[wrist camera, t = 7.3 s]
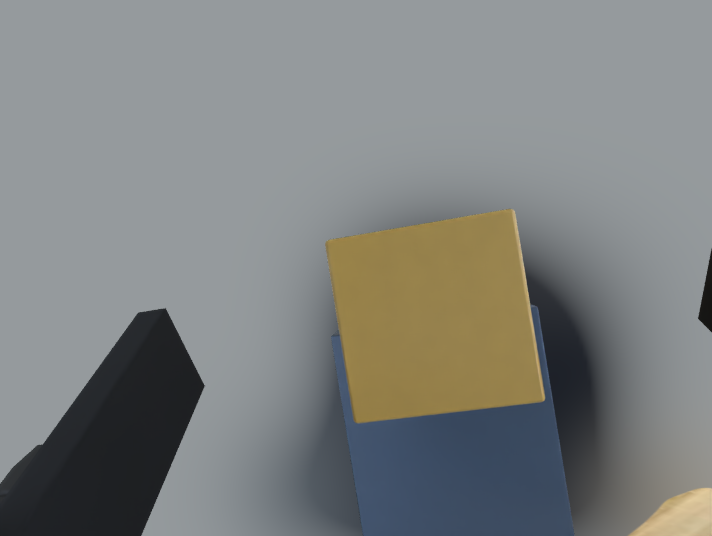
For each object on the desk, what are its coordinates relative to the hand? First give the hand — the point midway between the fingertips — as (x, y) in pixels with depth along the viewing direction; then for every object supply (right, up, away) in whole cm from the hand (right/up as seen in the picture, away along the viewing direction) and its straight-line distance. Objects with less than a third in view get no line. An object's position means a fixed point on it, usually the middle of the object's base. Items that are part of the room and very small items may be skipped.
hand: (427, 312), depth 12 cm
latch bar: (+1, -1, +8) cm, 9 cm away
